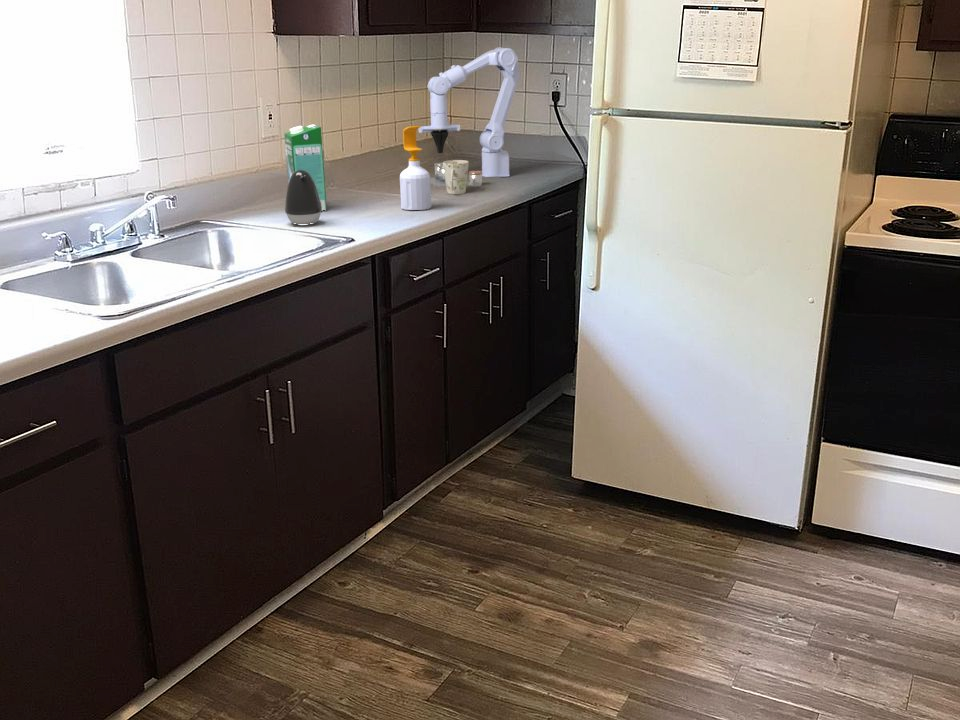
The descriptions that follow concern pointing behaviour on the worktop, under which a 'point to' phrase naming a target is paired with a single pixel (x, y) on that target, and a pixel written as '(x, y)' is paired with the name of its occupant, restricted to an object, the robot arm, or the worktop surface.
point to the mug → (456, 176)
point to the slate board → (438, 182)
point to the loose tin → (475, 178)
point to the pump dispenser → (302, 199)
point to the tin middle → (441, 174)
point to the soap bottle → (414, 176)
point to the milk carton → (307, 156)
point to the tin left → (437, 170)
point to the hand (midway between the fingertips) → (440, 152)
